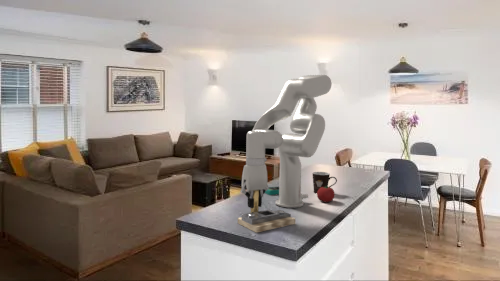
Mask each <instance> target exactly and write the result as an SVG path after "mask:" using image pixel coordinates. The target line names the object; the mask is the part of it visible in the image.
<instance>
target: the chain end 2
mask: <svg viewBox="0 0 500 281" xmlns="http://www.w3.org/2000/svg"><path fill="white" fill-rule="evenodd" d="M274 211H275V212H277V213H280V217H275V218H270V219H265V220H264V222H268V221H273V220H278V219H283V218H287V217H292V215H291V213H290V212H286V211H284V210H281V209H278V210H274ZM263 215H265V216H266V215H271V214H268V213H266V214H263Z"/></svg>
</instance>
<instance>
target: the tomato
mask: <svg viewBox="0 0 500 281" xmlns="http://www.w3.org/2000/svg"><path fill="white" fill-rule="evenodd" d="M335 194H336V193H335V191H334V189H333V188H332V187H329V186H328V187H327V186H326V187H321V188H319V190H318V192H317V194H316V197H317V199H318V200H319V201H321V202H322V203H329V202H332V201H333V200H334V199H335V196H336V195H335Z"/></svg>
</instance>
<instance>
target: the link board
mask: <svg viewBox="0 0 500 281" xmlns="http://www.w3.org/2000/svg"><path fill="white" fill-rule="evenodd" d="M237 224H238V225H240V226H242V227H244V228H246V229H248V230H250V231H252V232H254V233H261V232H266V231H270V230H273V229H278V228H283V227H287V226H292V225H296V218H295V217H292V216H291V217H287V218H283V219H278V220H273V221H268V222H263V223H259V224H254V225H251V224H249V223H247V222H245V221H243V220H242V216H240V217H237Z"/></svg>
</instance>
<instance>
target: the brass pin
mask: <svg viewBox="0 0 500 281" xmlns="http://www.w3.org/2000/svg"><path fill="white" fill-rule="evenodd" d="M253 199H254V208H250V213H253V212H258V211H260V210H259V209H260V208H259V190H255V191H253Z"/></svg>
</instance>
